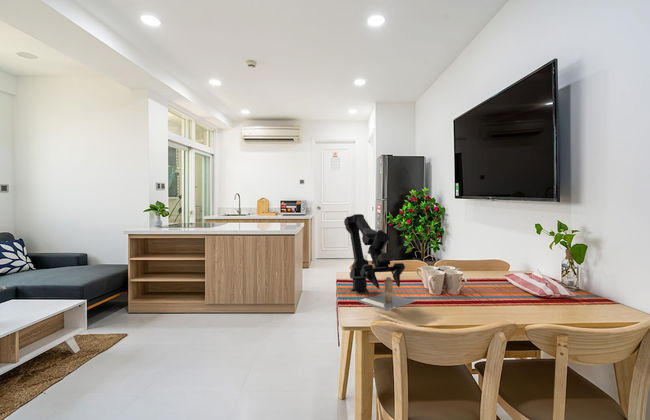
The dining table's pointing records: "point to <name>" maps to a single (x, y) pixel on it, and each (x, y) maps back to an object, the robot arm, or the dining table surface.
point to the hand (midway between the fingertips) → (389, 287)
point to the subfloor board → (379, 301)
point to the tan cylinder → (388, 293)
